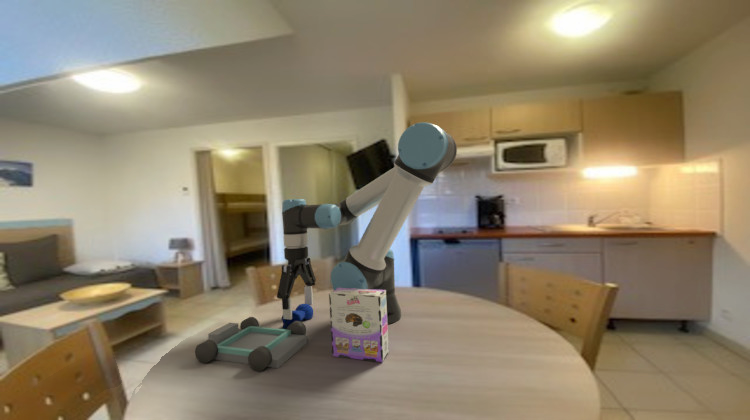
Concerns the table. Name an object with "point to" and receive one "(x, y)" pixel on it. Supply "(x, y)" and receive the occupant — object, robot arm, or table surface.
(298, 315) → the toy
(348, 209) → the robot arm
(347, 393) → the table surface
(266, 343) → the chassis
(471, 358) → the table surface
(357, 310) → the candy box
